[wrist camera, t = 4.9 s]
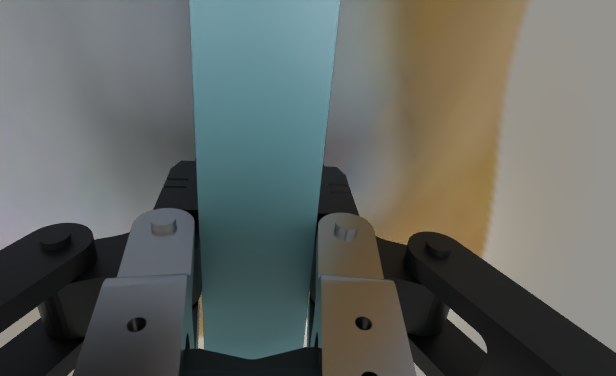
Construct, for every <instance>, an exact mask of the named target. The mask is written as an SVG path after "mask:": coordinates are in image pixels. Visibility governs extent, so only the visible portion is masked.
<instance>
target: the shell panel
mask: <svg viewBox="0 0 616 376" xmlns="http://www.w3.org/2000/svg"><path fill="white" fill-rule="evenodd" d="M189 6H190V29H191V53H192V76H193V99H194V122H195V145H196V168H197V192H198V215H199V237H200V248H201V272H202V307H203V330H204V350H208V351H213V352H218V353H222V354H227V355H231V356H236V357H241V358H245V359H259V358H263V357H267V356H271V355H275V354H280V353H284V352H288V351H292V350H296V349H300V348H303V344H304V335H305V325H306V317H307V307H308V298H309V288H310V279H311V270H312V260H313V251H314V242H315V232H316V223H317V214H318V204H319V195H320V186H321V176H322V167H323V157H324V148H325V139H326V129H327V120H328V111H329V101H330V92H331V82H332V73H333V64H334V54H335V45H336V36H337V26H338V17H339V7H340V0H189Z"/></svg>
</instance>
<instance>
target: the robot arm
mask: <svg viewBox="0 0 616 376" xmlns="http://www.w3.org/2000/svg"><path fill="white" fill-rule="evenodd" d="M309 289H310V295H309V303H308V327H307V347H304V348H300V349H296V350H292V351H288V352H284V353H280V354H275V355H271V356H267V357H263V358H259V359H245V358H241V357H236V356H231V355H227V354H222V353H218V352H213V351H208V350H204V349H198V334H199V310H200V305H199V298H200V295H201V292H202V272H201V248H200V237H199V215H198V192H197V168H196V159H195V161H181V162H179V163H178V164H177V165H175V166H174V167H172V168H171V170H170V172H169V174H168V177H167V180H166V181H165V184H164V188H162V191H161V193H160V195H159V198H158V200H157V202H156V205H155V207H154V209H153V210H151V211H149V212H146V213H144V214H142V215H141V216H139V217H138V218H137V219H136V220H135V221H134V222H133V224H132V227H131V230H130V232H129V233H126V234H123V235H118V236H113V237H108V238H102V239H96V240H94V238H93V234H92V231H91V230H90V229H89V228H88V227H86V226H84V225H81V224H76V223H60V224H54V225H50V226H46V227H43V228H41V229H38V230H36V231H34V232H32V233H30V234H29V235H27V236H25V237H23V238H22V239H20V240H18V241H16V242H14V243H13V244H11V245H9V246H7V247H5V248H4V249H2V250H0V333H1V332H2V331H4V330H5V329H7V328H8V327H9V326H11V325H12V324H13V323H15V322H16V321H18V320H19V319H20V318H22V317H23V316H25V315H26V314H27V313H29V312H30V311H31V310H33V309H34V308H36V307H38V310H39V313H40V316H41V318H40V319H39V320H37V321H36V322H34V323H33V324H32V325H30V326H29V327H28V328H27V329H25V330H24V331H23V332H21V333H20V334H19V335H17V336H16V337H15V338H13V339H12V340H11V341H10V342H8V343H7V344H5V345H4V346H3V347H1V348H0V376H67V375H68V374H69V373H70V372H71V371H72V370H74V373H73V375H72V376H416V371H415V367H414V363H415V364H416V365H417V366H418V367H419V368H420V369H421V370H422V371H423V372H424V373H425V375H426V376H616V353H615V352H613V351H612V350H611V349H609V348H608V347H607V346H605V345H604V344H602V343H601V342H599V341H598V340H597V339H595V338H594V337H592V336H591V335H589V334H588V333H587V332H585V331H584V330H582V329H581V328H579V327H578V326H577V325H575V324H573V323H572V322H571V321H569V320H568V319H567V318H565V317H564V316H562V315H561V314H560V313H558V312H557V311H555V310H554V309H552V308H551V307H550V306H548V305H547V304H545V303H544V302H543V301H541V300H540V299H538V298H537V297H535V296H534V295H533V294H531V293H530V292H528V291H527V290H525V289H524V288H523V287H521V286H520V285H518V284H517V283H515V282H514V281H512V280H511V279H510V278H508V277H507V276H506V275H504V274H503V273H501V272H500V271H498V270H497V269H496V268H494V267H493V266H491V265H490V264H488V263H487V262H486V261H484V260H483V259H481V258H480V257H479V256H477V255H476V254H474V253H473V252H471V251H470V250H469V249H467V248H466V247H464V246H463V245H461V244H460V243H459V242H457V241H456V240H454V239H452V238H450V237H448V236H446V235H443V234H440V233H435V232H419V233H416V234H414V235H412V236H411V237H410V238H409V241H408V244H407V245H404V244H399V243H395V242H391V241H387V240H384V239H381V238H379V237H377V236H375V232H374V229H373V227H372V225H371V224H370V223H369V222H368V221H367V220H365V219H363V218H362V217H359V214H358V211H357V208H356V205H355V202H354V199H353V196H352V194H351V190H350V187H349V184H348V181H347V178H346V175H345V174H343V173H342V172H341V171H340V170H339V169H338V168H337V167H324V164H323V167H322V176H321V186H320V195H319V204H318V214H317V223H316V232H315V242H314V251H313V260H312V270H311V279H310V288H309ZM450 308H451V309H452V310H453V311H454V312H455V313H456V314H458V315H459V316H460V317H461V318H462V319H464V320H465V321H466V322H467V323H468V324H469V325H470V326H472V327H473V328H474V329H475V330H476V331H477V332H478V333H479V334H480V335H481V336H482V338H483V339H484V341H485V343H486V346H487V354H486V353H485V352H484V351H483V350H482V349H481V348H480V347H479V346H477V345H476V344H475V343H474V342H473V341H472V340H471V339H470V338H468V337H467V336H466V335H465V334H464V333H463V332H462V331H461V330H459V329H458V328H457V327H456V326H455V325H454V324H453V323H452V322H450V321H449V320H448V319H447V315H448V312H449V309H450Z"/></svg>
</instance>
